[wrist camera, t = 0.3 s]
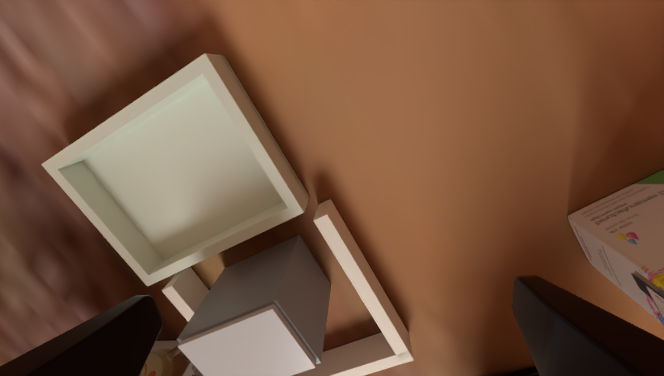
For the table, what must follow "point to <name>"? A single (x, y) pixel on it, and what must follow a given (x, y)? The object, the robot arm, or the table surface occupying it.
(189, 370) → the coffee box
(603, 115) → the table surface
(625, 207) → the ink box
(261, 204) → the tray
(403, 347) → the bay
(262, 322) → the grey block
